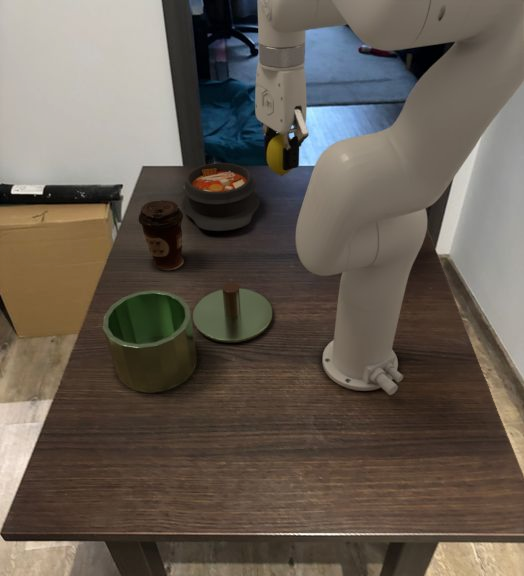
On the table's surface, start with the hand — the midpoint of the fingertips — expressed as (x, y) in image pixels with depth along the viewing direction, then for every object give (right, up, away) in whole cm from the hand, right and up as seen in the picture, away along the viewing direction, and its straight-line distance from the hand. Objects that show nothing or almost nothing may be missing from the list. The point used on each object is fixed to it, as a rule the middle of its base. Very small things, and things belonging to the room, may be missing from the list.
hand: (281, 161), depth 98 cm
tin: (-22, -38, -7) cm, 44 cm away
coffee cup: (-24, -17, +14) cm, 32 cm away
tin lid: (-9, -29, 0) cm, 30 cm away
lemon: (0, -2, +2) cm, 3 cm away
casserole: (-13, -2, +29) cm, 32 cm away
